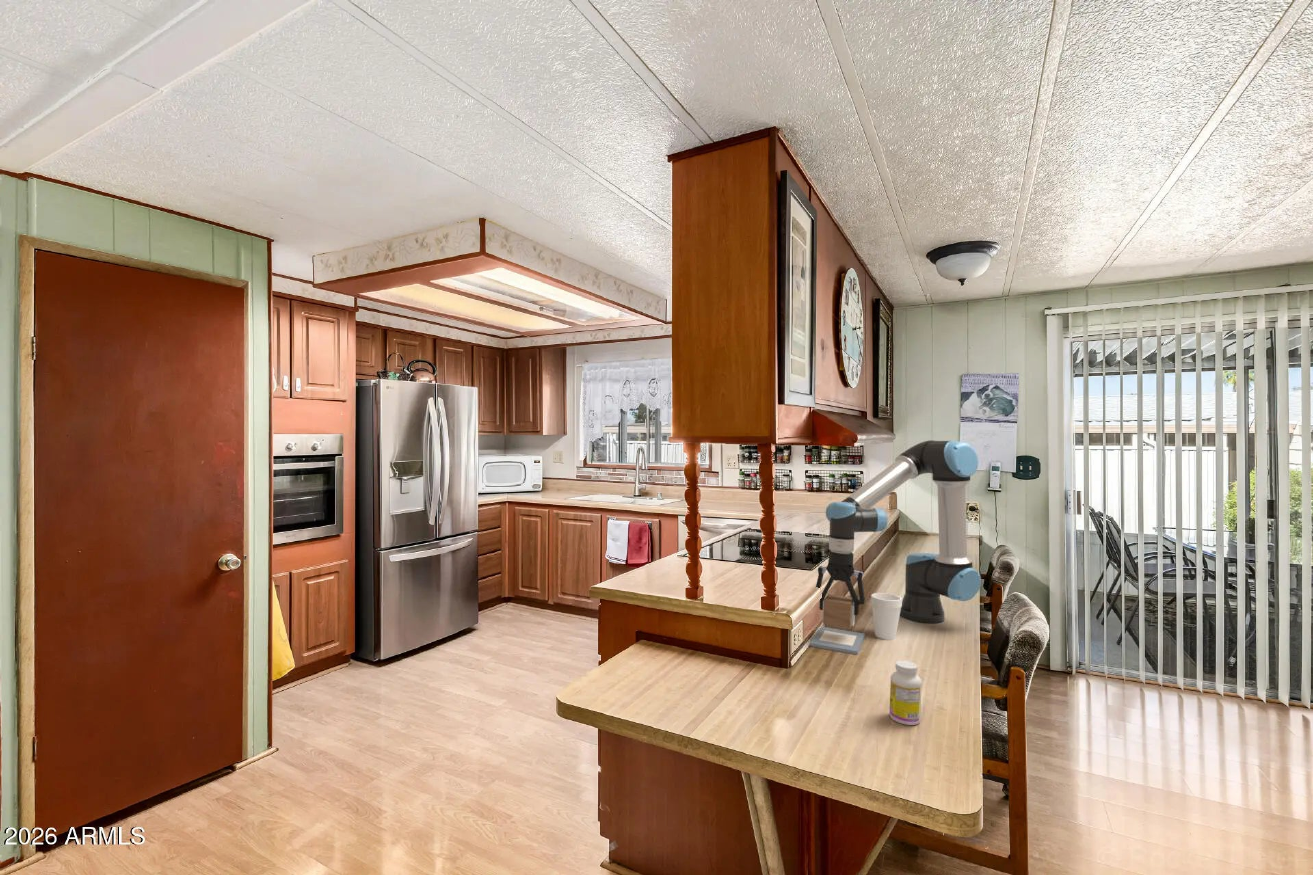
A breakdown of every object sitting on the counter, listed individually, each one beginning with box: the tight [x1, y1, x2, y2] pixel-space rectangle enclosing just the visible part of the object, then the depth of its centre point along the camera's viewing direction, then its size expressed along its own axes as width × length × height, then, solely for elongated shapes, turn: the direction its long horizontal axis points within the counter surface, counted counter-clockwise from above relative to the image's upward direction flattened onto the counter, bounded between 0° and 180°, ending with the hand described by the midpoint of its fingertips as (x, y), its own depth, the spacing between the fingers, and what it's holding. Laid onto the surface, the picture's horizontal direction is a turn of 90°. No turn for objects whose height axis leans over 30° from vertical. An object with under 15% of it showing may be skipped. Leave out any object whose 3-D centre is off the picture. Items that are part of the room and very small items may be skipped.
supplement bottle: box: [889, 660, 923, 726], centre depth 138 cm, size 7×7×13 cm
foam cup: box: [870, 592, 903, 641], centre depth 195 cm, size 10×9×13 cm
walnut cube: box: [822, 593, 854, 631], centre depth 189 cm, size 8×8×8 cm
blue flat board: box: [809, 626, 866, 655], centre depth 189 cm, size 18×14×1 cm
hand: (838, 622), depth 189 cm, fingers closed on walnut cube, 8 cm apart
